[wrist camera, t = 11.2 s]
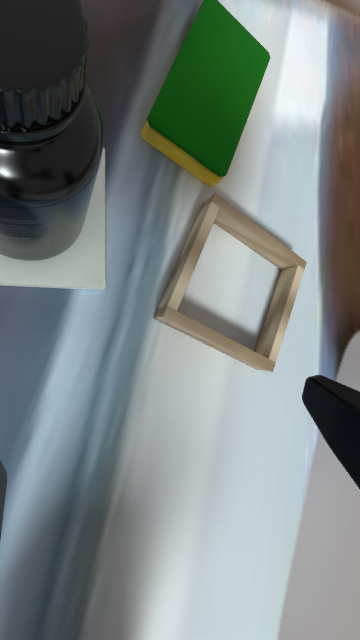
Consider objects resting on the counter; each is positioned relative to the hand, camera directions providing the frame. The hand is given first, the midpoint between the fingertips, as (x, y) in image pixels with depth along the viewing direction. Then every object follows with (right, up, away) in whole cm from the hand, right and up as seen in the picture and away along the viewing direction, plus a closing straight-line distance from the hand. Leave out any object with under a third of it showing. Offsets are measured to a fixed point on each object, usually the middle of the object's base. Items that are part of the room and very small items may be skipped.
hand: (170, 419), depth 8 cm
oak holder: (+5, +6, +16) cm, 18 cm away
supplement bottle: (-9, +10, +10) cm, 17 cm away
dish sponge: (+2, +22, +17) cm, 28 cm away
